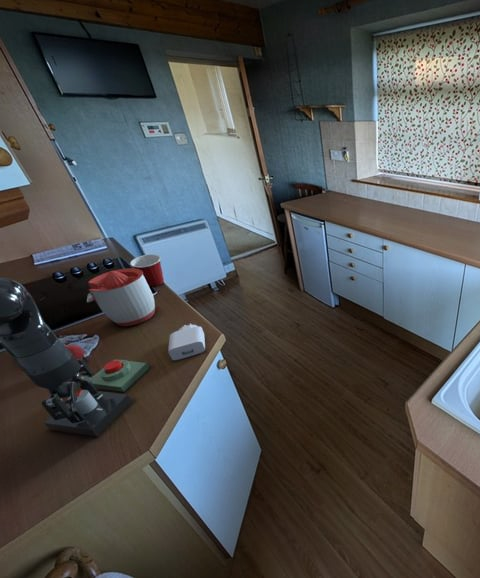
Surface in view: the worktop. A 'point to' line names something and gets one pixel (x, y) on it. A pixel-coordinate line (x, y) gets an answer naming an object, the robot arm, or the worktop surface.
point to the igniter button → (113, 366)
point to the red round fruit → (76, 351)
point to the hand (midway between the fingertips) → (86, 406)
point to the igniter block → (120, 376)
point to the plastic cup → (149, 268)
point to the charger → (186, 342)
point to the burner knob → (85, 402)
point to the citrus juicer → (123, 296)
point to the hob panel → (94, 415)
